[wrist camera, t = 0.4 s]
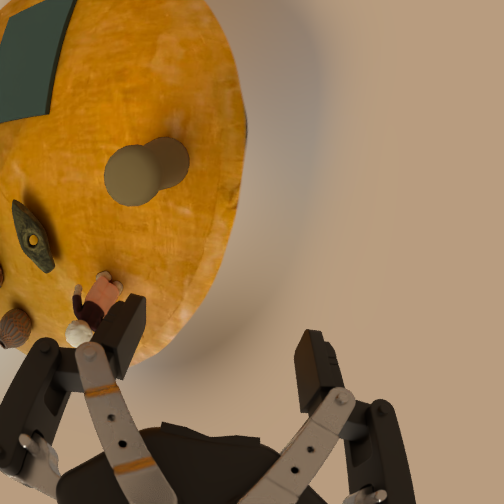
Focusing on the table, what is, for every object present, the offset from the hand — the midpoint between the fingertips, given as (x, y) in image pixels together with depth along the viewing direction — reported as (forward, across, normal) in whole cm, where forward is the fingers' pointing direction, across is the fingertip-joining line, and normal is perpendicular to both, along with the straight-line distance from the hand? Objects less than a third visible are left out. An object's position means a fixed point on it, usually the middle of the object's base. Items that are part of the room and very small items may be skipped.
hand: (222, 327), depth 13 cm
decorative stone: (+20, +29, +9) cm, 36 cm away
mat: (+20, +37, -18) cm, 46 cm away
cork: (+20, +10, -3) cm, 23 cm away
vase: (+18, +39, +30) cm, 52 cm away
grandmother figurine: (+20, +16, +15) cm, 29 cm away
